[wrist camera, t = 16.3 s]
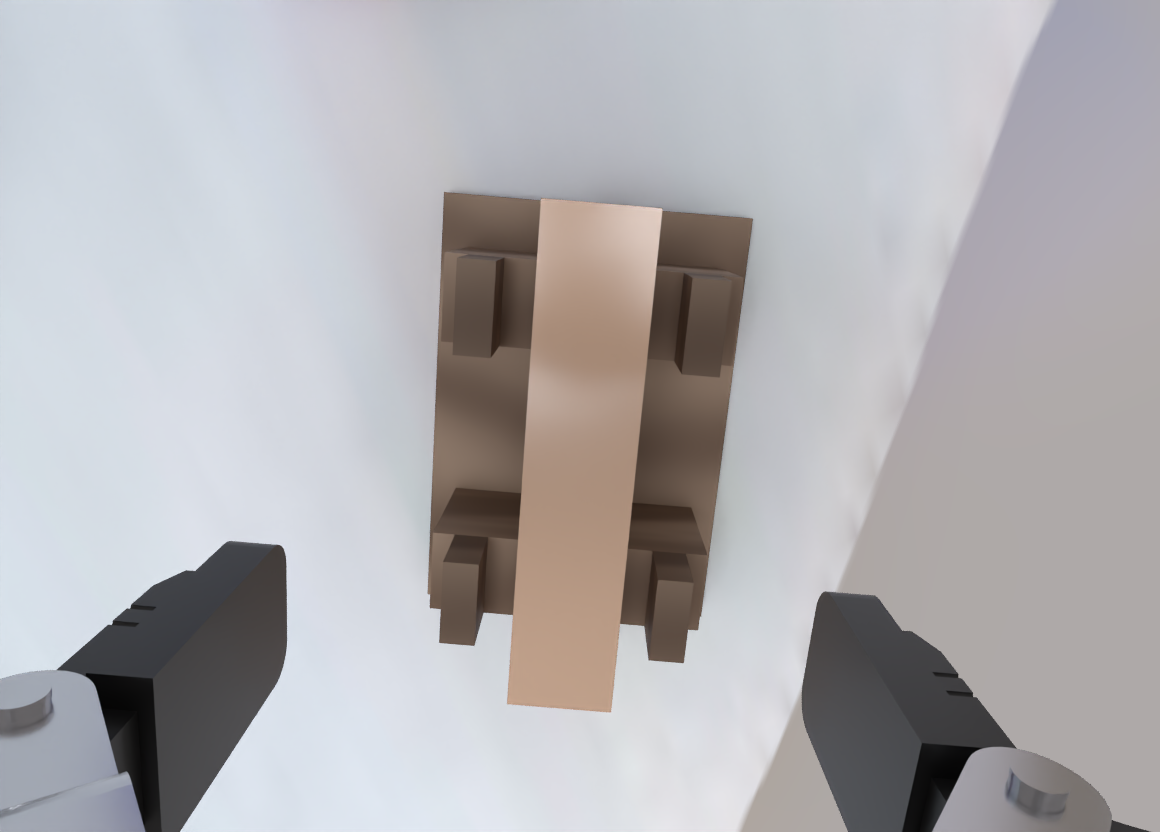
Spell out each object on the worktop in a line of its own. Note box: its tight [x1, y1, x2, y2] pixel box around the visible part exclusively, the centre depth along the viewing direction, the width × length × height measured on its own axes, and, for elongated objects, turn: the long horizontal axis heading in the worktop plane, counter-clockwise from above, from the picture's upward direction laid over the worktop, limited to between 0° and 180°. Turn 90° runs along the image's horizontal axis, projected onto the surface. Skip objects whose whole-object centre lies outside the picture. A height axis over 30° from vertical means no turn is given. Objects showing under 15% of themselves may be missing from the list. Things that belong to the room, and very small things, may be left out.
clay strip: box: [507, 198, 662, 712], centre depth 26 cm, size 16×3×4 cm, turn 175°
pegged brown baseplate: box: [428, 192, 753, 663], centre depth 30 cm, size 17×12×9 cm
